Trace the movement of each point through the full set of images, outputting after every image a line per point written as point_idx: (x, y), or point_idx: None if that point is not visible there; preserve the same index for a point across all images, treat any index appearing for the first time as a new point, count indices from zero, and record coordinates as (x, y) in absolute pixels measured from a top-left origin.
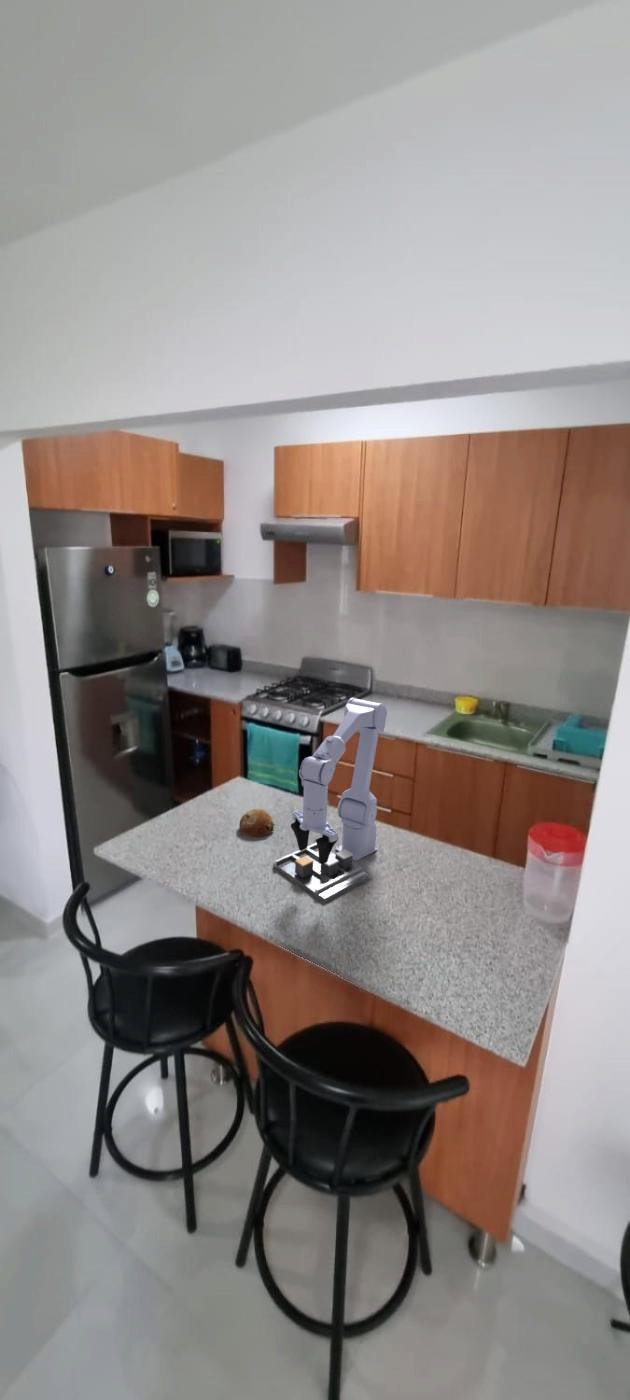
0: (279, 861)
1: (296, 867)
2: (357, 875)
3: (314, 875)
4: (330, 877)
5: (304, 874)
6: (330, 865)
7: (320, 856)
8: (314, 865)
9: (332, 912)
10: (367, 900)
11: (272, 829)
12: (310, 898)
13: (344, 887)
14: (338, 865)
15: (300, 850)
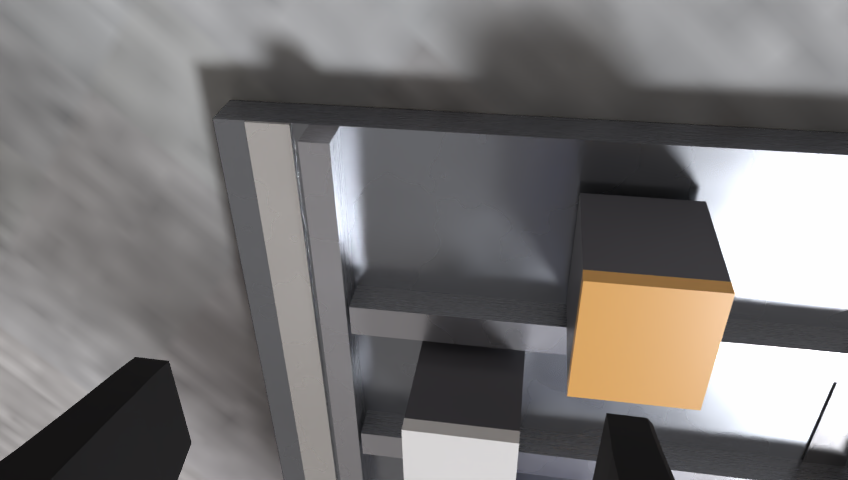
0: None
1: (696, 240)
2: (322, 462)
3: (539, 290)
4: None
5: (578, 229)
6: (405, 434)
7: (26, 451)
8: None
9: (92, 61)
10: (115, 327)
11: None
12: (350, 57)
13: (259, 325)
14: None
15: (611, 417)
